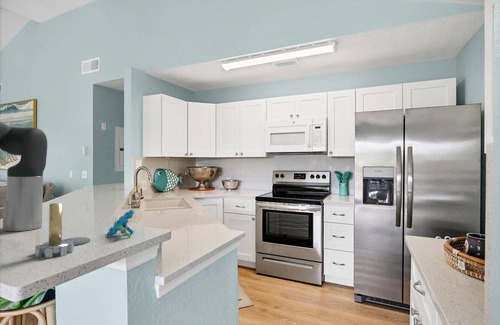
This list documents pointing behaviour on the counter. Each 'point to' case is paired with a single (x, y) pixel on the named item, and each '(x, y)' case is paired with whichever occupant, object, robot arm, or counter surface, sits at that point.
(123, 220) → the blue splat disc
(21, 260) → the counter surface
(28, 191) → the robot arm
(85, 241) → the pad
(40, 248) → the gear
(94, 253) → the counter surface
